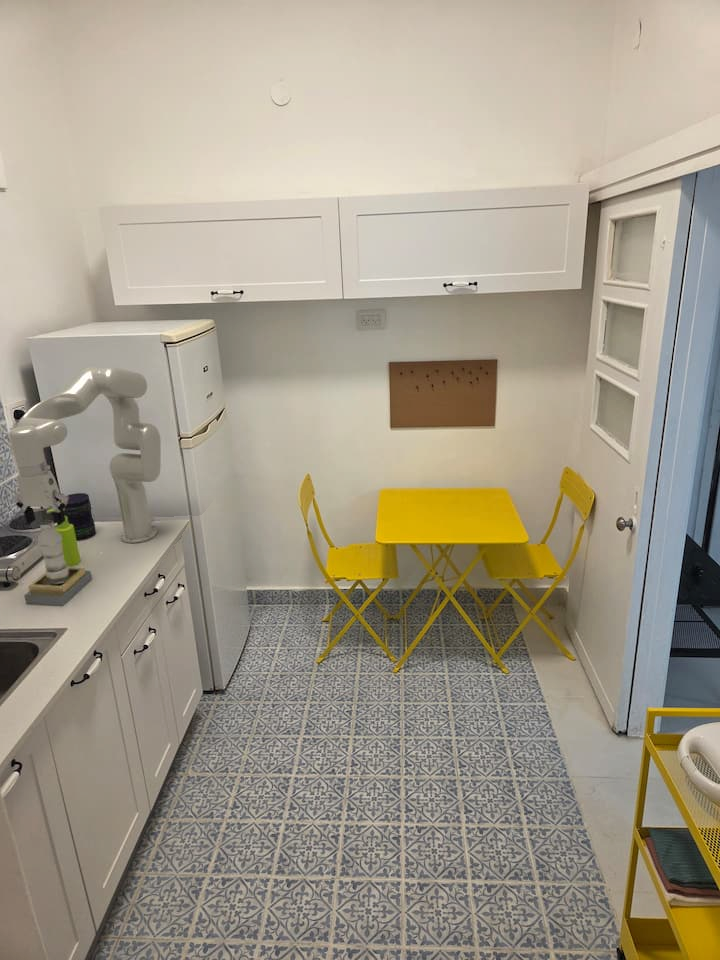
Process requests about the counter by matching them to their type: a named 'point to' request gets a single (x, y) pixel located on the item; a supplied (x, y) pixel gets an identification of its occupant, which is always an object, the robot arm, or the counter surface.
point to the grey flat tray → (57, 588)
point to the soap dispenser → (68, 541)
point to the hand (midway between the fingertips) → (46, 522)
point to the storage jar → (80, 515)
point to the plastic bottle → (53, 554)
